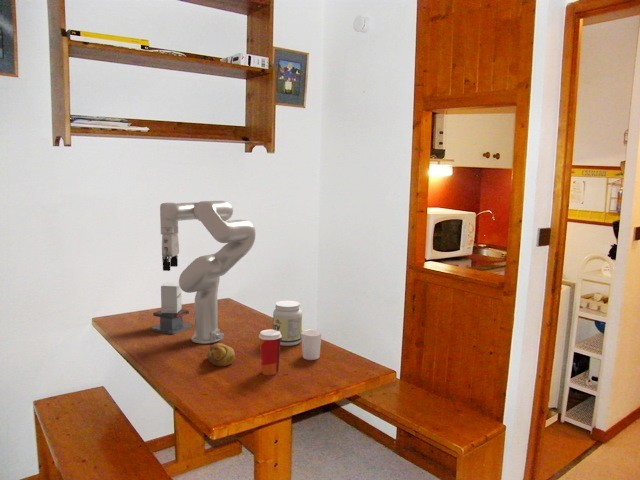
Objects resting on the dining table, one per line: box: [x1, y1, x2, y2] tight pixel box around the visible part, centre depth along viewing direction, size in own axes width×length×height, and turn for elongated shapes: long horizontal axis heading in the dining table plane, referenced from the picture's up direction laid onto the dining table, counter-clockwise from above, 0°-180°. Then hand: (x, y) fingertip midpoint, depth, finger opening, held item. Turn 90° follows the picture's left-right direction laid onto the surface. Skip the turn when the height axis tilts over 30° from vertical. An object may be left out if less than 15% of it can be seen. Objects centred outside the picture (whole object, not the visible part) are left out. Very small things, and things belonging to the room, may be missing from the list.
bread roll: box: [207, 342, 236, 367], centre depth 199 cm, size 13×10×8 cm
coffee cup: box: [258, 328, 282, 376], centre depth 189 cm, size 8×8×15 cm
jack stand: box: [150, 308, 193, 336], centre depth 238 cm, size 13×13×8 cm
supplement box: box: [160, 282, 183, 314], centre depth 237 cm, size 7×7×13 cm
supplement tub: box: [272, 300, 303, 347], centre depth 222 cm, size 12×12×17 cm
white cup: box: [301, 329, 322, 361], centre depth 205 cm, size 8×8×10 cm
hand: (170, 268), depth 234 cm, fingers open, 9 cm apart
